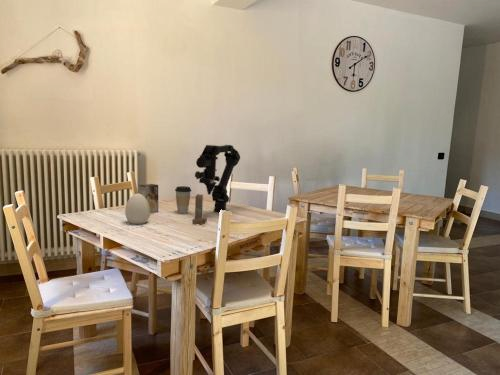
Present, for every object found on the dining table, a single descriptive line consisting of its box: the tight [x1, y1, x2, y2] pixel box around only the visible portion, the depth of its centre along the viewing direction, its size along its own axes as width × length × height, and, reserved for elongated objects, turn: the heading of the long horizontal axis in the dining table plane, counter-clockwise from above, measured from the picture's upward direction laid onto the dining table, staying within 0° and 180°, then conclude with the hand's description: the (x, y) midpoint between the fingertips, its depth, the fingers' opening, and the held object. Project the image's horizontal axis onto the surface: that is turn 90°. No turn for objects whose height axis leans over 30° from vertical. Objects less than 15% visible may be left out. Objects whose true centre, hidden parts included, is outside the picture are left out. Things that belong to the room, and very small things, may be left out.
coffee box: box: [138, 183, 159, 214], centre depth 218 cm, size 9×6×16 cm
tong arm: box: [195, 193, 204, 218], centre depth 197 cm, size 1×3×12 cm, turn 74°
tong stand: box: [192, 195, 208, 226], centre depth 198 cm, size 7×5×15 cm
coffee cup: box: [174, 186, 192, 215], centre depth 221 cm, size 9×9×15 cm
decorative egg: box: [124, 193, 151, 225], centre depth 194 cm, size 12×12×15 cm
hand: (209, 194), depth 217 cm, fingers closed
